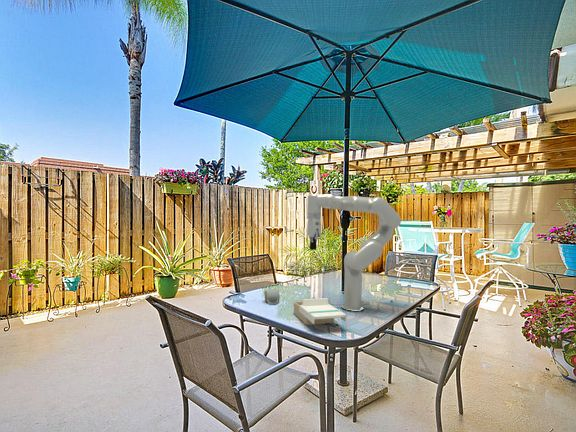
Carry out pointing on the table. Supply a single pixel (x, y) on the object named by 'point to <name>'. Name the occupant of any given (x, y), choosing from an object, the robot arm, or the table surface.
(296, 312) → the mailer box
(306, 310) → the lid
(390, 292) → the table surface
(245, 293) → the table surface
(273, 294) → the ceramic mug
